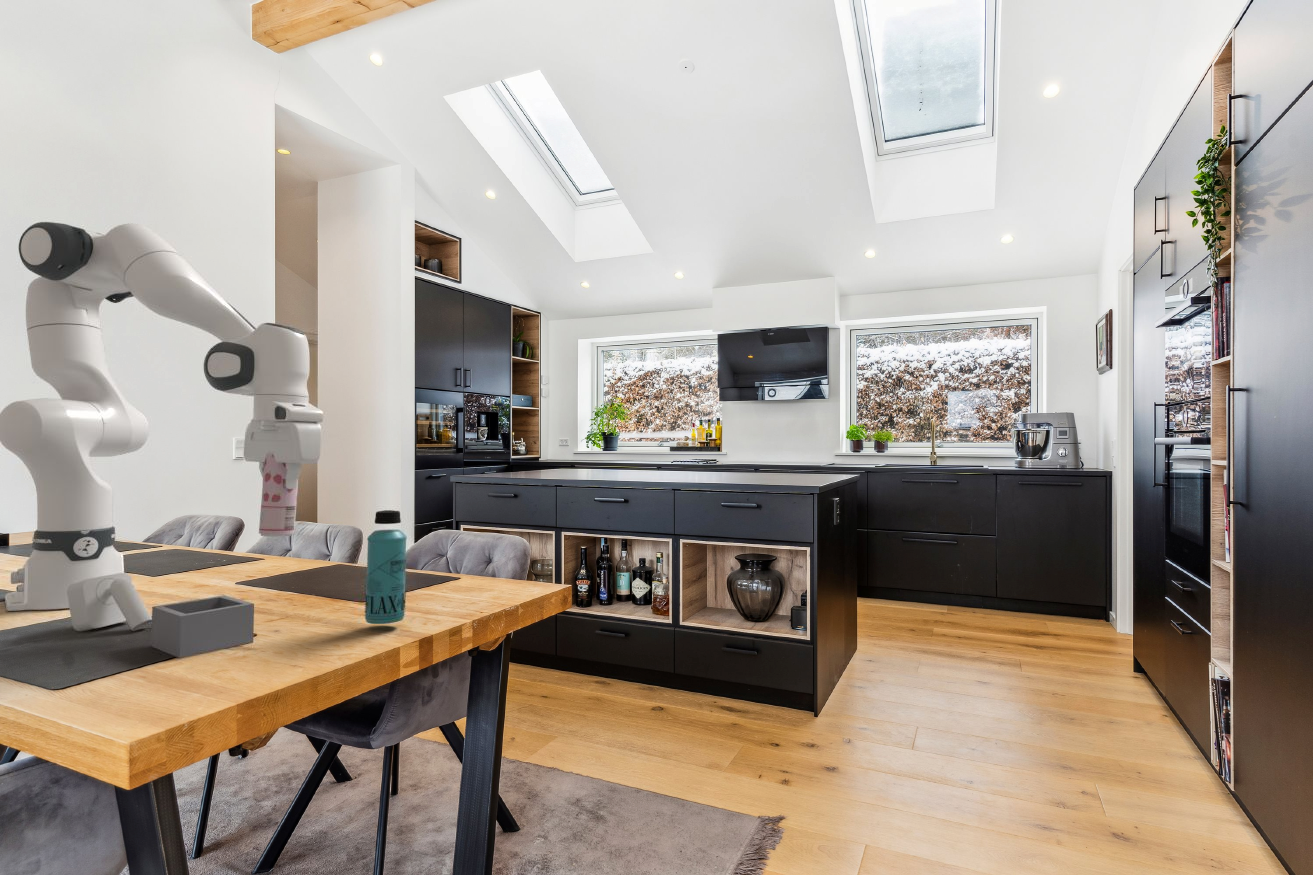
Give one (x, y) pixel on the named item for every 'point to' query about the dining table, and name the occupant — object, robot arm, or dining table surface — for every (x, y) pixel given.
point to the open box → (202, 625)
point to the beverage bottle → (386, 572)
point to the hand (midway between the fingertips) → (279, 487)
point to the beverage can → (277, 501)
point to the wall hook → (106, 603)
